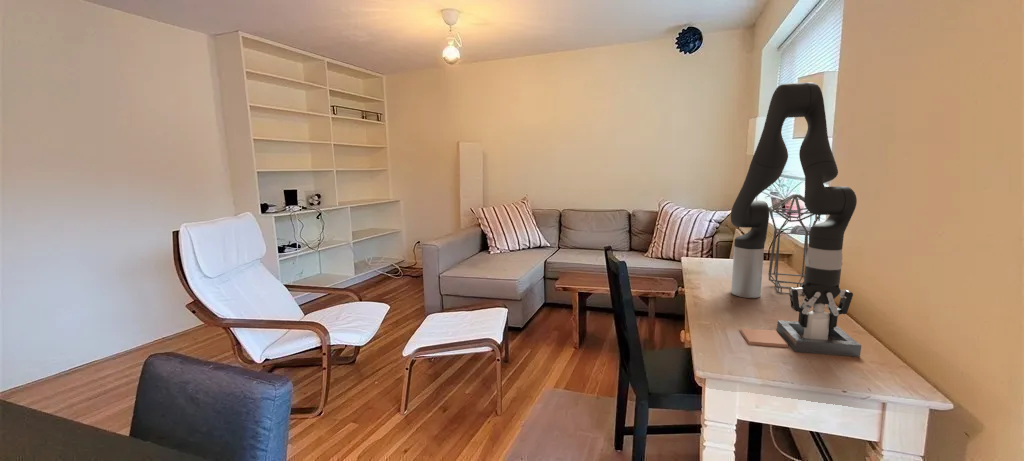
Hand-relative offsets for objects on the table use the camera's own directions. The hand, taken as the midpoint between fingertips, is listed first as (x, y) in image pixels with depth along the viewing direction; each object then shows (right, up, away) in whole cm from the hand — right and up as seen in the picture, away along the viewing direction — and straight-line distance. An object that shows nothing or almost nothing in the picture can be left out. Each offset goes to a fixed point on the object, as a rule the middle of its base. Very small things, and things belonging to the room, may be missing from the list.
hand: (816, 327), depth 115 cm
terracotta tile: (-12, -4, +4) cm, 13 cm away
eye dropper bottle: (0, -4, +1) cm, 4 cm away
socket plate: (0, -4, +1) cm, 4 cm away
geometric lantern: (+20, +3, +44) cm, 49 cm away
